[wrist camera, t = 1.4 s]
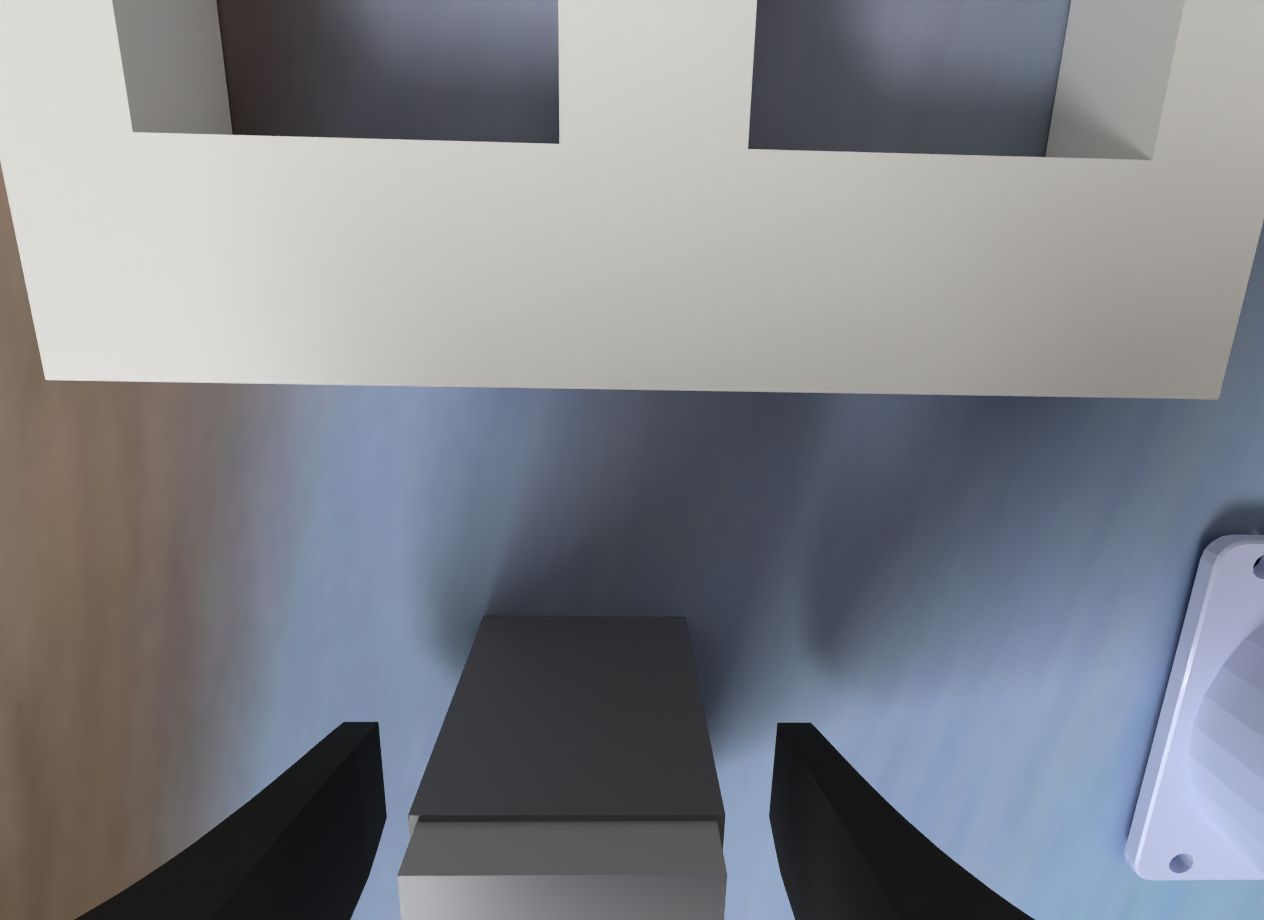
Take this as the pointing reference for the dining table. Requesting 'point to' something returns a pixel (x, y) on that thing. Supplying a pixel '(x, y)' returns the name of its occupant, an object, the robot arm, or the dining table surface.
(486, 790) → the plug
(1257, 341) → the dining table surface
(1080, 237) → the socket block
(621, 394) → the dining table surface
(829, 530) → the dining table surface
